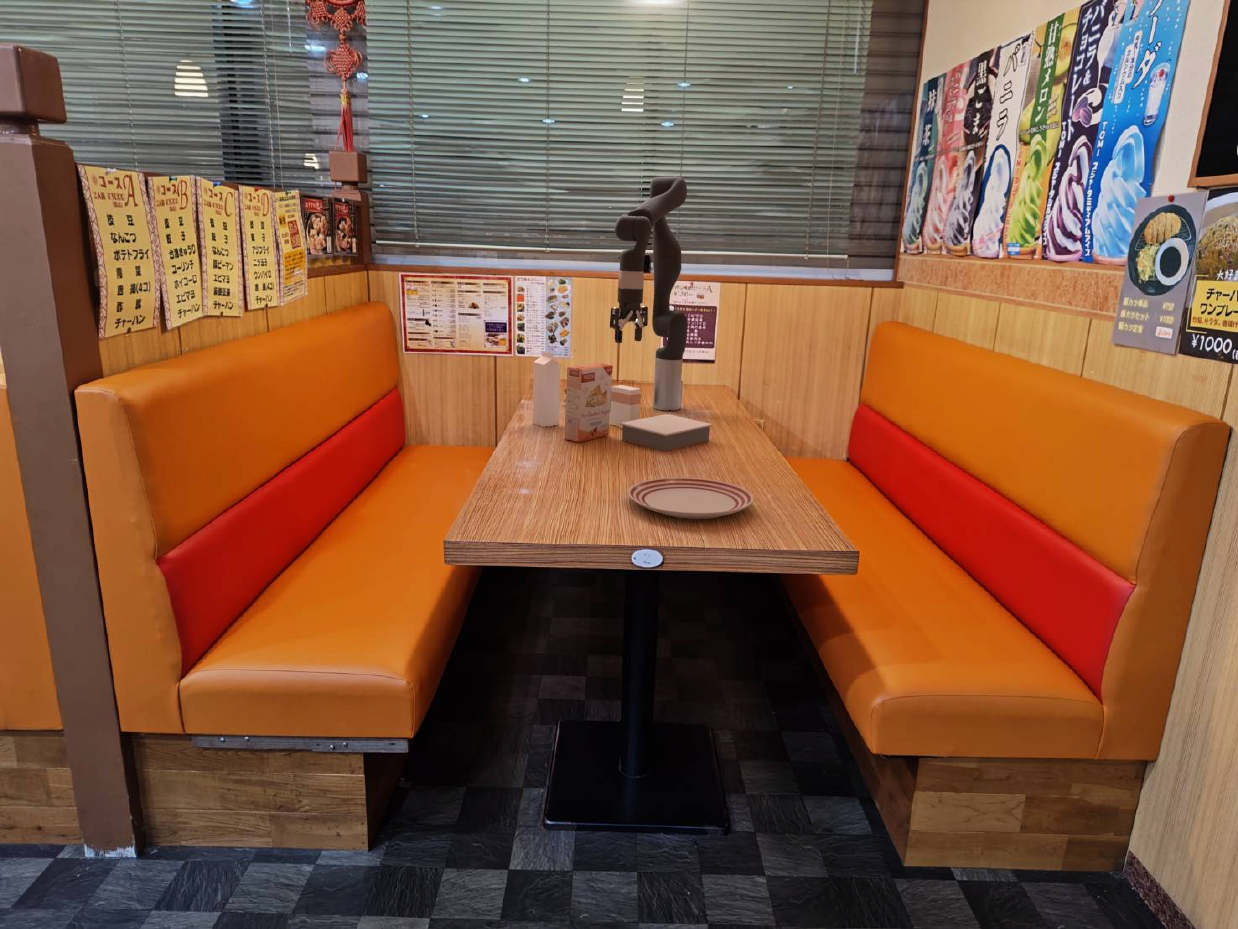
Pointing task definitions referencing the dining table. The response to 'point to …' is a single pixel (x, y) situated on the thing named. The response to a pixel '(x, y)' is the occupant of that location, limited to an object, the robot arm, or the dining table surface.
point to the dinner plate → (690, 497)
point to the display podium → (665, 432)
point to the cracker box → (588, 401)
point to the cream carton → (624, 404)
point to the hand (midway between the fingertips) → (628, 341)
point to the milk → (546, 390)
